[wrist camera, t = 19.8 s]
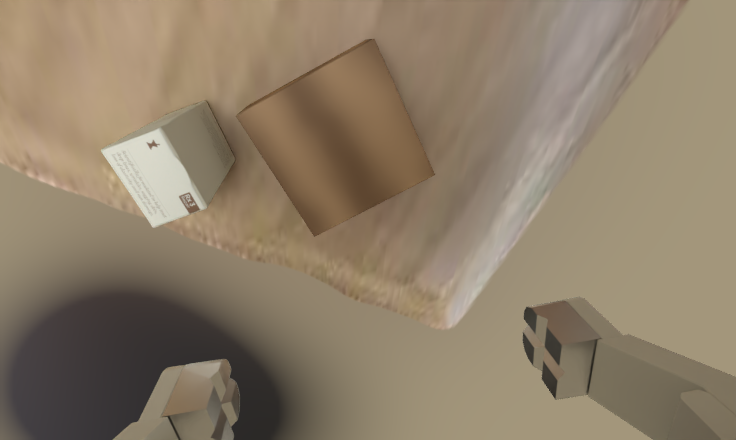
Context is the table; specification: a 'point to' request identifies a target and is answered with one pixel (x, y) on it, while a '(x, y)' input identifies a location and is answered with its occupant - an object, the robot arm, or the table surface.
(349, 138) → the walnut block
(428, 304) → the table surface
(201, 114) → the skincare box
